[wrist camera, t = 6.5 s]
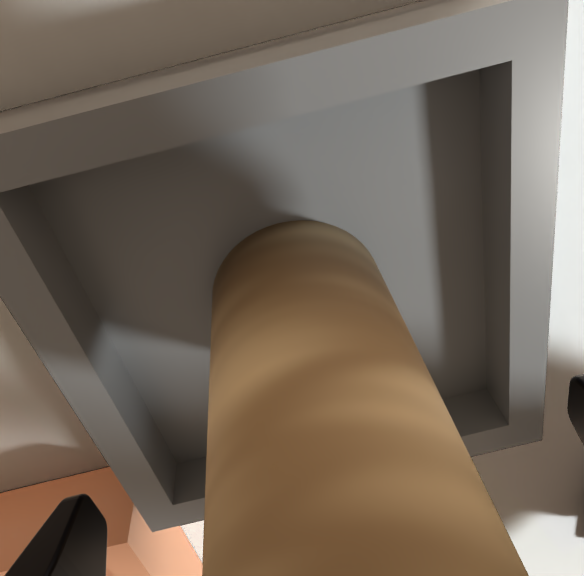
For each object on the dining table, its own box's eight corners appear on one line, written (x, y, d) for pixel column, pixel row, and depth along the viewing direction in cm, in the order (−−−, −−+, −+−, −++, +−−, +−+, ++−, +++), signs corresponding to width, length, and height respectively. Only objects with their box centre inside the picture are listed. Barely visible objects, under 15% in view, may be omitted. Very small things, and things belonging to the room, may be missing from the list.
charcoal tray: (505, -21, 11) (569, -15, 9) (504, 382, 18) (541, 440, 16) (-33, 120, 12) (-90, 157, 9) (160, 464, 18) (151, 532, 16)
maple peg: (368, 200, 13) (658, 701, 4) (389, 341, 15) (601, 840, 7) (189, 245, 13) (118, 819, 4) (238, 377, 15) (256, 913, 7)
